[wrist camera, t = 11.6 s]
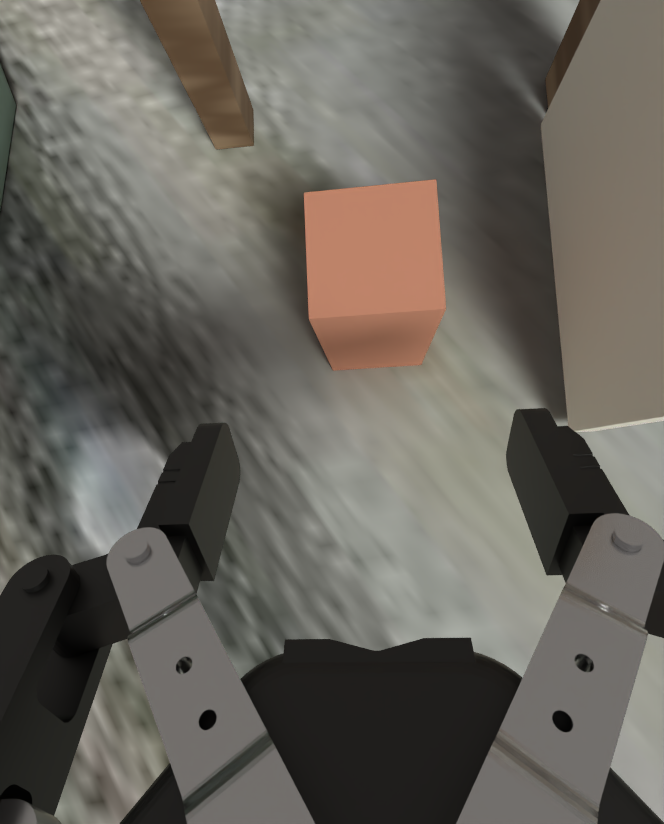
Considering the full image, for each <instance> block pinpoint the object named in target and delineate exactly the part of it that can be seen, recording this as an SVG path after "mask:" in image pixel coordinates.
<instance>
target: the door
mask: <svg viewBox="0 0 664 824" xmlns="http://www.w3.org/2000/svg"><path fill="white" fill-rule="evenodd" d="M541 134H542V144H543V155H544V166H545V177H546V188H547V199H548V210H549V221H550V232H551V243H552V254H553V265H554V275H555V286H556V297H557V308H558V319H559V330H560V341H561V352H562V363H563V374H564V385H565V396H566V407H567V417H568V426H569V427H570V428H571V429H572V430H574V431H575V432H585V431H598V430H604V429H611V428H618V427H624V426H631V425H638V424H645V423H651V422H658V421H664V0H601V1H600V3H599V5H598V7H597V9H596V11H595V13H594V15H593V17H592V19H591V21H590V23H589V25H588V27H587V30H586V32H585V34H584V36H583V38H582V40H581V42H580V44H579V46H578V48H577V50H576V52H575V54H574V56H573V59H572V61H571V63H570V65H569V67H568V69H567V71H566V73H565V75H564V77H563V79H562V81H561V83H560V85H559V88H558V90H557V92H556V94H555V96H554V98H553V100H552V102H551V104H550V106H549V108H548V110H547V112H546V114H545V117H544V119H543V121H542V123H541Z"/></svg>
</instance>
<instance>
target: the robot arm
mask: <svg viewBox="0 0 664 824" xmlns="http://www.w3.org/2000/svg"><path fill="white" fill-rule="evenodd" d="M506 461H507V468H508V472H509V475H510V478H511V481H512V483H513V486H514V489H515V491H516V494H517V497H518V499H519V502H520V505H521V508H522V510H523V513H524V516H525V518H526V521H527V524H528V526H529V529H530V532H531V534H532V537H533V540H534V543H535V545H536V548H537V551H538V553H539V556H540V559H541V561H542V564H543V567H544V570H545V572H546V575H563V577H564V580H565V582H566V584H565V586H564V588H563V590H562V592H561V594H560V596H559V599H558V601H557V603H556V605H555V608H554V610H553V612H552V614H551V616H550V619H549V621H548V623H547V625H546V627H545V630H544V632H543V634H542V636H541V638H540V641H539V643H538V645H537V647H536V649H535V652H534V654H533V656H532V658H531V661H530V663H529V665H528V667H527V669H526V672H525V674H524V676H523V678H522V677H521V676H520V675H518V674H517V673H516V672H515V671H513V670H512V669H510V668H509V667H507V666H506V665H504V664H502V663H500V662H498V661H496V660H495V659H493V658H490V657H487V656H485V655H482V654H479V653H476V652H474V651H473V646H472V641H471V638H423V639H420V640H416V641H413V642H409V643H406V644H402V645H399V646H395V647H392V648H388V649H385V650H381V651H373V650H369V649H365V648H361V647H357V646H353V645H350V644H346V643H342V642H338V641H335V640H331V639H298V640H285V645H284V654H280V655H277V656H275V657H272V658H270V659H268V660H266V661H264V662H262V663H261V664H259V665H257V666H256V667H254V668H253V669H252V670H250V671H249V672H248V673H246V674H245V675H244V676H243V677H242V678H241V679H240V678H239V676H238V674H237V672H236V670H235V668H234V666H233V664H232V662H231V660H230V658H229V657H228V655H227V653H226V651H225V649H224V647H223V645H222V643H221V641H220V639H219V637H218V635H217V633H216V631H215V629H214V628H213V626H212V624H211V622H210V620H209V618H208V616H207V614H206V612H205V610H204V608H203V606H202V604H201V602H200V601H199V599H198V597H197V595H196V593H197V590H198V586H199V582H200V581H214V579H215V575H216V571H217V567H218V563H219V559H220V555H221V551H222V547H223V544H224V540H225V536H226V532H227V528H228V524H229V520H230V516H231V512H232V508H233V504H234V500H235V497H236V493H237V489H238V485H239V480H240V464H239V459H238V456H237V452H236V449H235V446H234V442H233V439H232V436H231V432H230V429H229V426H228V424H227V423H209V424H199V425H198V427H197V429H196V432H195V434H194V437H193V439H192V442H182V443H181V444H180V445H179V446H178V447H177V448H176V449H175V450H174V451H173V452H172V453H171V454H170V456H169V458H168V460H167V462H166V465H165V467H164V469H163V473H162V474H161V476H160V478H159V480H158V485H156V487H155V489H154V492H153V494H152V496H151V499H150V501H149V503H148V505H147V508H146V510H145V512H144V514H143V517H142V519H141V521H140V523H139V526H138V528H137V530H134V531H132V532H129V533H128V534H126V535H124V536H123V537H122V538H120V539H119V540H118V541H117V542H116V543H115V544H114V545H113V547H112V548H111V550H110V552H109V554H106V555H104V556H101V557H97V558H94V559H91V560H88V561H84V562H81V563H78V564H75V565H71V564H70V563H69V562H68V560H67V559H66V558H64V557H63V556H60V555H46V556H43V557H39V558H37V559H35V560H33V561H31V562H29V563H27V564H26V565H24V566H23V567H22V568H21V569H19V570H18V571H17V572H16V573H15V574H14V575H13V576H12V578H11V579H10V580H9V582H8V583H7V585H6V587H5V588H4V590H3V592H2V594H1V595H0V824H61V822H60V821H59V820H58V819H57V818H56V817H55V816H54V814H55V811H56V808H57V805H58V802H59V799H60V797H61V794H62V791H63V788H64V785H65V782H66V779H67V776H68V773H69V770H70V767H71V764H72V761H73V758H74V755H75V753H76V750H77V747H78V744H79V741H80V738H81V735H82V732H83V729H84V726H85V723H86V720H87V717H88V714H89V711H90V708H91V706H92V703H93V700H94V697H95V694H96V691H97V688H98V685H99V682H100V679H101V676H102V673H103V670H104V667H105V664H106V662H107V659H108V656H109V653H110V650H111V647H112V644H113V643H116V642H119V641H122V640H125V639H128V643H129V646H130V649H131V652H132V655H133V658H134V661H135V664H136V666H137V669H138V672H139V675H140V678H141V681H142V684H143V686H144V689H145V692H146V695H147V698H148V701H149V704H150V707H151V709H152V712H153V715H154V718H155V721H156V724H157V727H158V730H159V732H160V735H161V738H162V741H163V744H164V747H165V750H166V752H167V755H168V758H169V761H170V763H169V765H168V766H167V767H166V768H165V769H164V771H163V772H162V773H161V774H160V775H159V777H158V778H157V779H156V780H155V781H154V783H153V784H152V785H151V786H150V788H149V789H148V790H147V791H146V792H145V794H144V795H143V796H142V797H141V798H140V800H139V801H138V802H137V803H136V804H135V806H134V807H133V808H132V809H131V810H130V812H129V813H128V814H127V815H126V816H125V818H124V819H123V820H122V821H121V822H120V824H664V822H663V821H662V820H661V819H660V818H659V817H658V816H657V815H656V814H655V813H654V812H653V811H652V810H651V809H650V808H649V807H648V806H647V805H646V804H645V803H644V802H643V801H642V800H641V799H640V798H639V797H638V795H637V794H636V793H635V792H634V791H633V790H632V789H631V788H630V787H629V786H628V785H627V784H626V783H625V782H624V781H623V780H622V779H621V778H620V777H619V776H618V775H617V774H616V773H615V772H614V771H613V770H612V769H611V768H610V766H611V762H612V759H613V755H614V752H615V748H616V745H617V741H618V738H619V734H620V731H621V727H622V724H623V720H624V717H625V714H626V710H627V707H628V703H629V700H630V696H631V693H632V689H633V686H634V682H635V679H636V675H637V672H638V668H639V665H640V661H641V658H642V654H643V651H644V647H645V644H646V640H647V635H648V634H651V635H655V636H658V637H662V638H664V540H663V539H662V538H661V536H660V535H659V534H658V533H657V532H656V531H655V530H654V529H653V528H652V527H651V526H649V525H648V524H647V523H645V522H643V521H642V520H639V519H637V518H635V517H632V516H630V515H629V514H628V512H627V511H626V509H625V507H624V505H623V504H622V502H621V500H620V499H619V497H618V495H617V494H616V492H615V490H614V489H613V487H612V485H611V484H610V482H609V480H608V479H607V477H606V475H605V474H604V472H603V470H602V469H600V465H599V463H598V462H597V460H596V458H595V457H593V453H592V452H591V450H590V448H589V447H588V445H587V443H586V442H585V440H584V438H582V437H581V436H580V435H579V434H577V433H576V432H575V431H574V430H572V429H571V428H570V427H569V426H558V427H557V425H556V423H555V421H554V419H553V418H552V416H551V414H550V412H549V411H548V409H546V408H538V409H518V410H516V411H515V413H514V417H513V422H512V427H511V432H510V436H509V441H508V446H507V452H506Z"/></svg>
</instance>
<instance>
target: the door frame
mask: <svg viewBox="0 0 664 824" xmlns="http://www.w3.org/2000/svg"><path fill="white" fill-rule="evenodd" d="M600 1H601V0H580V1H579V3H578V6H577V8H576V10H575V13H574V15H573V17H572V19H571V22H570V24H569V26H568V29H567V31H566V33H565V35H564V38H563V40H562V42H561V45H560V47H559V49H558V51H557V54H556V56H555V58H554V61H553V63H552V65H551V67H550V70H549V72H548V74H547V77H546V79H545V81H546V91H547V102H548V108H549V106H550V104H551V102H552V100H553V98H554V96H555V94H556V92H557V90H558V88H559V85H560V83H561V81H562V79H563V77H564V75H565V73H566V71H567V69H568V67H569V65H570V63H571V61H572V59H573V56H574V54H575V52H576V50H577V48H578V46H579V44H580V42H581V40H582V38H583V36H584V34H585V32H586V30H587V27H588V25H589V23H590V21H591V19H592V17H593V15H594V13H595V11H596V9H597V7H598V5H599V3H600ZM140 2H141V4H142V5H143V7H144V9H145V11H146V13H147V15H148V17H149V19H150V21H151V23H152V25H153V27H154V29H155V31H156V33H157V35H158V37H159V39H160V41H161V43H162V45H163V46H164V48H165V50H166V52H167V54H168V56H169V58H170V60H171V62H172V64H173V66H174V68H175V70H176V72H177V74H178V76H179V78H180V80H181V82H182V84H183V86H184V88H185V89H186V91H187V93H188V95H189V97H190V99H191V101H192V103H193V105H194V107H195V109H196V111H197V113H198V115H199V117H200V119H201V121H202V123H203V125H204V127H205V129H206V130H207V132H208V134H209V136H210V138H211V140H212V142H213V144H214V146H215V148H216V149H225V148H236V147H246V146H254V122H253V108H252V105H251V102H250V99H249V96H248V93H247V91H246V88H245V85H244V82H243V79H242V76H241V73H240V71H239V68H238V65H237V62H236V59H235V56H234V53H233V51H232V48H231V45H230V42H229V39H228V36H227V33H226V31H225V28H224V25H223V22H222V19H221V16H220V13H219V11H218V8H217V5H216V2H215V0H140Z"/></svg>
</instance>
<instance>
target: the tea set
mask: <svg viewBox="0 0 664 824" xmlns="http://www.w3.org/2000/svg"><path fill="white" fill-rule="evenodd" d="M15 109H16V104H15V101H14V98H13V96H12V93H11V90H10V88H9V85H8V82H7V80H6V77H5V75H4V72H3V69H2V67H1V64H0V209H1V202H2V196H3V189H4V182H5V176H6V169H7V162H8V156H9V149H10V143H11V136H12V129H13V123H14V116H15Z"/></svg>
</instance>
